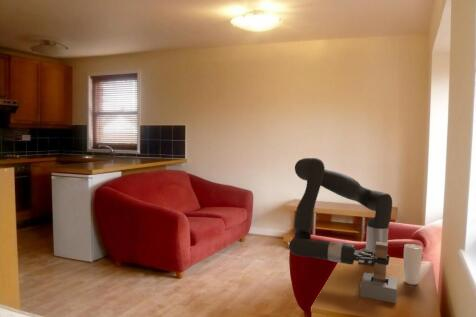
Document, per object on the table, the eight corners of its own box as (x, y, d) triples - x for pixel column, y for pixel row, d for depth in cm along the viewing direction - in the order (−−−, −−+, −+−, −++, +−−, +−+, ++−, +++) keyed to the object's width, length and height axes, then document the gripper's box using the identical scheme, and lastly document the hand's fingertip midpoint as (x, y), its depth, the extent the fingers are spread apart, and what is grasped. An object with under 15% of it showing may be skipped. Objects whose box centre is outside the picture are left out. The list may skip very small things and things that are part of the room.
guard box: (363, 284, 151) (364, 272, 151) (396, 290, 147) (397, 278, 146) (360, 296, 140) (360, 282, 140) (395, 303, 136) (396, 289, 135)
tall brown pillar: (374, 277, 146) (376, 241, 145) (385, 279, 144) (387, 243, 143) (373, 281, 142) (375, 244, 141) (384, 283, 140) (387, 245, 140)
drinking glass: (419, 287, 151) (421, 249, 150) (400, 283, 154) (402, 246, 153) (421, 281, 157) (423, 245, 156) (403, 278, 160) (405, 242, 159)
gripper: (338, 248, 142) (388, 255, 135) (344, 238, 155) (390, 245, 148) (337, 267, 142) (387, 276, 135) (343, 257, 155) (389, 264, 148)
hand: (388, 260), depth 141 cm, fingers closed on tall brown pillar, 4 cm apart
